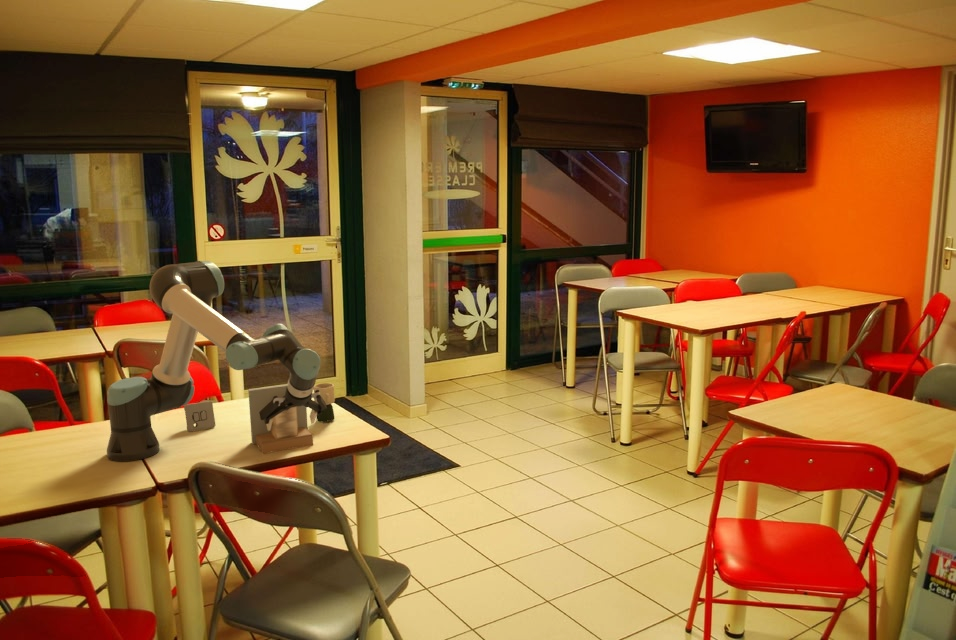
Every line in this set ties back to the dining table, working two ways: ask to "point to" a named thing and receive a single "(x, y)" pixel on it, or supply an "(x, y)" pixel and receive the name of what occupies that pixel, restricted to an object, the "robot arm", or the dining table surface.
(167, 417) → the dining table surface
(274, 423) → the tan canister
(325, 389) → the character mug
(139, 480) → the dining table surface
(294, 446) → the grey panel display stand
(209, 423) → the electrical switch
